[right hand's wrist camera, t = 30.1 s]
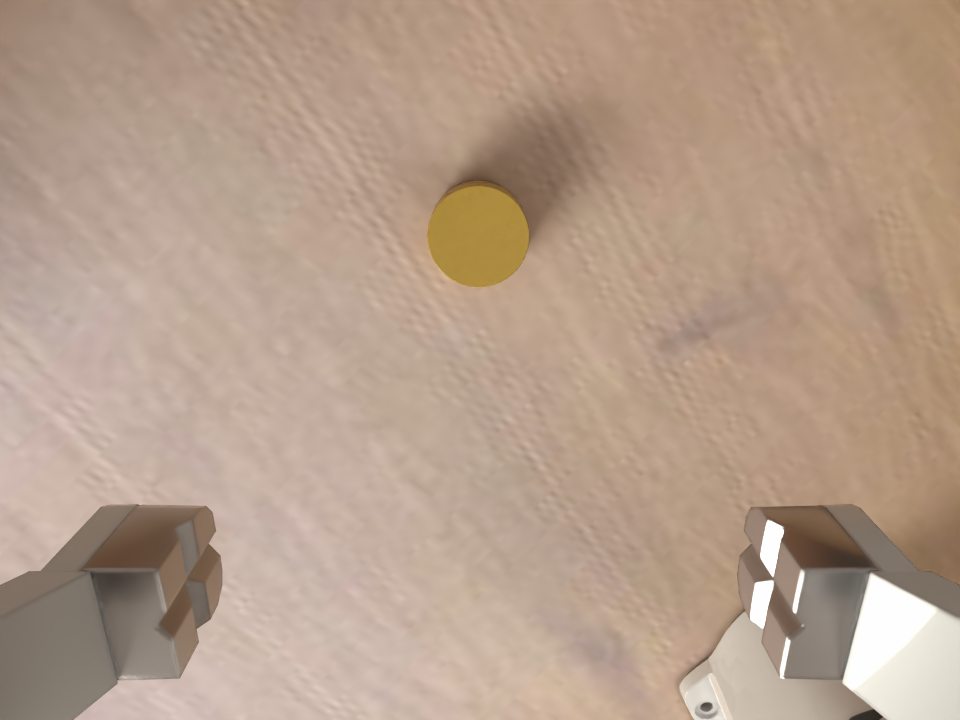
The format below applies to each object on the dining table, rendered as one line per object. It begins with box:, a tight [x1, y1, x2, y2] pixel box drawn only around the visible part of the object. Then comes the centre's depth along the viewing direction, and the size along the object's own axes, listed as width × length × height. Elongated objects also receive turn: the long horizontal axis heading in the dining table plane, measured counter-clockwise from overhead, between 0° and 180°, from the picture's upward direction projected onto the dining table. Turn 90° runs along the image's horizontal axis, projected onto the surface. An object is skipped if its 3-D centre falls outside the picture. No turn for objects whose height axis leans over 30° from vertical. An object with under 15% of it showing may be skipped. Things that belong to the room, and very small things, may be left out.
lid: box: [427, 180, 529, 287], centre depth 34 cm, size 5×5×2 cm
